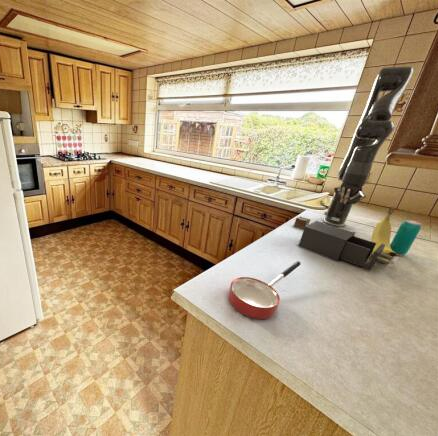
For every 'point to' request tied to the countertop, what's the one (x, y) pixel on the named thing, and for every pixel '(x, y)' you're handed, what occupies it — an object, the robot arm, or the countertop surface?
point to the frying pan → (256, 295)
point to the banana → (384, 237)
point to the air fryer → (325, 239)
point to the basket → (363, 252)
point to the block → (301, 222)
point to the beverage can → (405, 237)
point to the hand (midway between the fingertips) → (341, 211)
